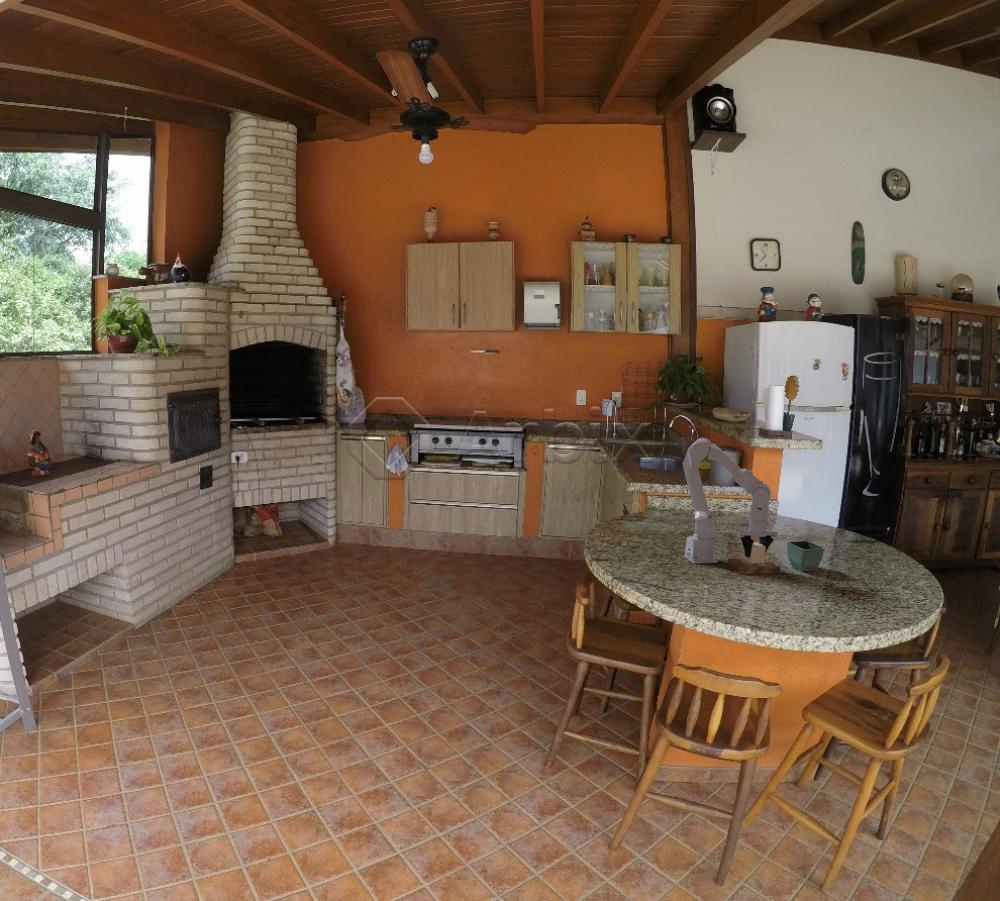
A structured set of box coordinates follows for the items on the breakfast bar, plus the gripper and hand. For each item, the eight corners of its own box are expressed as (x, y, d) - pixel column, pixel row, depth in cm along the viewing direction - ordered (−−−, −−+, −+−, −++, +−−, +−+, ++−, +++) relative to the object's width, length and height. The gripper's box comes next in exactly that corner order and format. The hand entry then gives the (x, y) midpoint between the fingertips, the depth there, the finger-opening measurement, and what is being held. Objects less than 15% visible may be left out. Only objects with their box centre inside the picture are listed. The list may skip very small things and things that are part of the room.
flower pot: (801, 574, 217) (804, 549, 215) (783, 565, 225) (786, 541, 224) (822, 572, 219) (825, 548, 218) (804, 564, 228) (807, 540, 226)
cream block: (750, 563, 218) (752, 546, 217) (743, 559, 223) (744, 542, 222) (764, 563, 219) (765, 546, 218) (755, 558, 224) (757, 542, 223)
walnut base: (742, 574, 215) (743, 568, 215) (727, 564, 225) (727, 558, 224) (779, 573, 217) (780, 567, 217) (762, 563, 227) (763, 557, 227)
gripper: (745, 522, 213) (741, 560, 215) (784, 521, 215) (780, 559, 218) (734, 516, 220) (730, 554, 222) (772, 516, 222) (768, 553, 225)
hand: (754, 556), depth 220 cm, fingers closed on cream block, 5 cm apart
